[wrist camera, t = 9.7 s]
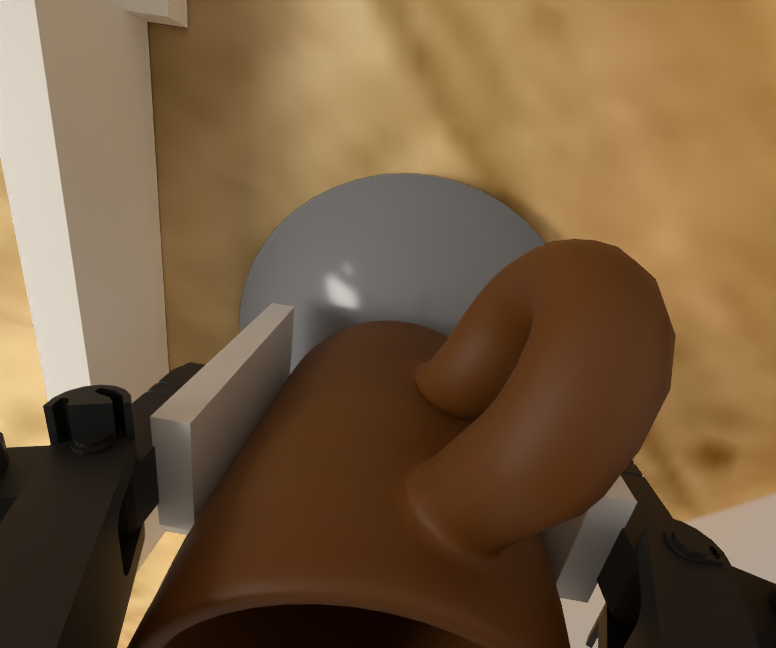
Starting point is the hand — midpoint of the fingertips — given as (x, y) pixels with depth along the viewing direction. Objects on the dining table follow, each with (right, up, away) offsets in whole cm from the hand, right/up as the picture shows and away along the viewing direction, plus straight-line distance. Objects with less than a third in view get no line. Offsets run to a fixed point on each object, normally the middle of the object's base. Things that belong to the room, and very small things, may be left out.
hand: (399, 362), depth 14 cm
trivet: (0, +1, +2) cm, 2 cm away
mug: (+1, 0, 0) cm, 1 cm away
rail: (-10, +2, +2) cm, 10 cm away
